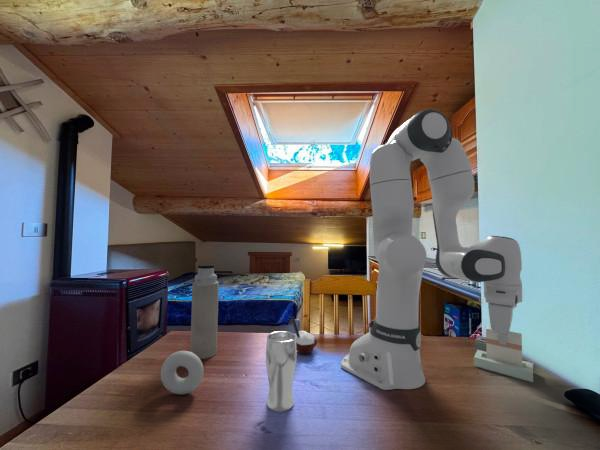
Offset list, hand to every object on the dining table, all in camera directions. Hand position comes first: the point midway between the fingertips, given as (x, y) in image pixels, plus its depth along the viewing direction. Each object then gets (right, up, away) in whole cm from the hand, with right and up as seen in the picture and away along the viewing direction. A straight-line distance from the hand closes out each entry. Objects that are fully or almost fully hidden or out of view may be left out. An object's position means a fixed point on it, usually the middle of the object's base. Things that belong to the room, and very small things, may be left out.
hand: (503, 342), depth 77 cm
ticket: (0, -6, 0) cm, 6 cm away
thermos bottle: (-88, -8, +9) cm, 89 cm away
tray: (0, -9, 0) cm, 9 cm away
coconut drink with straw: (-56, -8, +11) cm, 58 cm away
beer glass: (-62, -7, -16) cm, 65 cm away
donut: (-86, -7, -13) cm, 87 cm away
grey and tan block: (+4, -9, +8) cm, 12 cm away
